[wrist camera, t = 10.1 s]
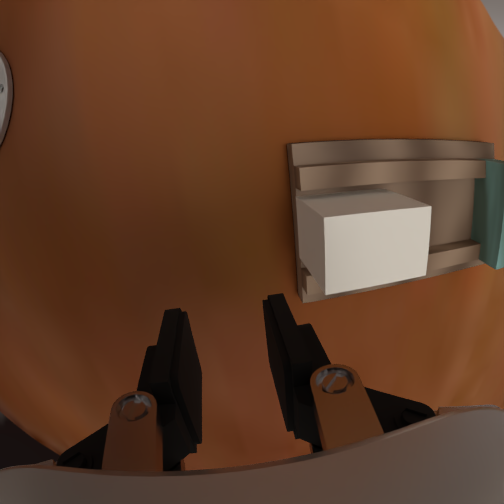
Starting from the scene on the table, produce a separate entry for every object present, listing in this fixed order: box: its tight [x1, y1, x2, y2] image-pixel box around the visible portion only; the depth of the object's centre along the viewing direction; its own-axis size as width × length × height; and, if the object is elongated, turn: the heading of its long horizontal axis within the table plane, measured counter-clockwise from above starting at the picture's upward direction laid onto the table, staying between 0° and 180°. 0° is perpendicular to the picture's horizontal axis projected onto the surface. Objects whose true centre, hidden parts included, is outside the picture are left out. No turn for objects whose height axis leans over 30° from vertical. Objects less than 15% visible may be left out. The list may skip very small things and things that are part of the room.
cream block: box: [296, 189, 431, 295], centre depth 20 cm, size 7×4×6 cm, turn 96°
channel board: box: [287, 139, 504, 303], centre depth 22 cm, size 20×12×6 cm, turn 96°
